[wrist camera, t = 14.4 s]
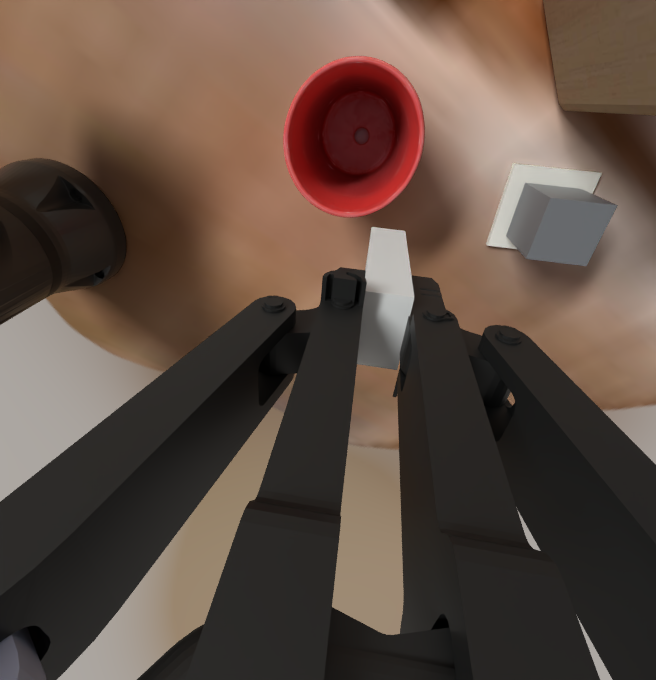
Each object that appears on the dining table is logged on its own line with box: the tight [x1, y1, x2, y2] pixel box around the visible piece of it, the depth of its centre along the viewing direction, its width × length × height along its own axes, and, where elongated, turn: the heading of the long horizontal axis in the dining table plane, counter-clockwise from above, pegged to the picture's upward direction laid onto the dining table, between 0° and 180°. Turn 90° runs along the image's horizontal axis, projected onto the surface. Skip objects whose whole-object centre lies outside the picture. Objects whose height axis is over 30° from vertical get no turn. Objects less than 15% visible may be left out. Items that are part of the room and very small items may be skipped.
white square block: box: [486, 163, 602, 249], centre depth 34 cm, size 8×8×7 cm
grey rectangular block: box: [506, 183, 618, 266], centre depth 33 cm, size 5×5×7 cm
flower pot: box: [283, 56, 425, 217], centre depth 31 cm, size 11×11×10 cm
